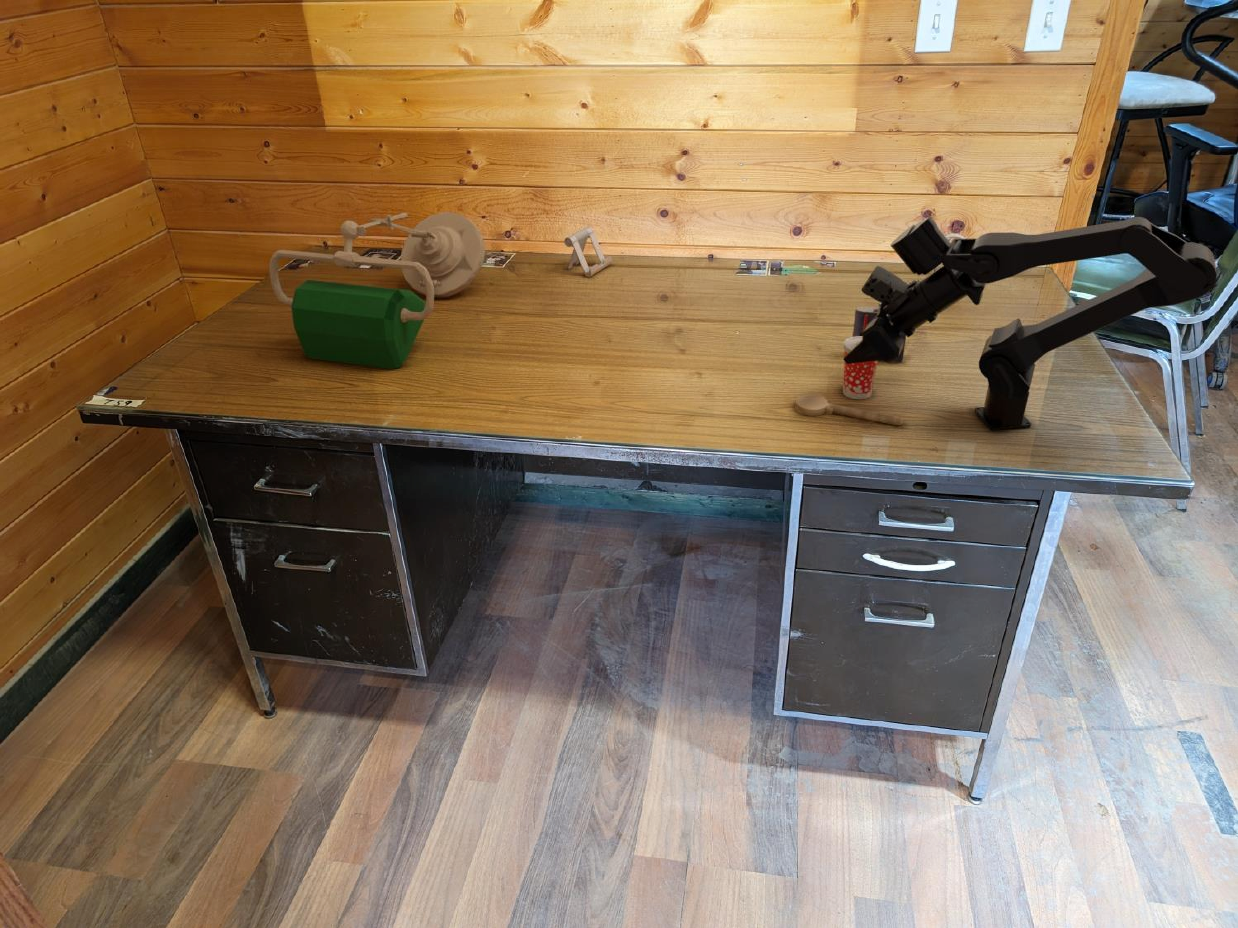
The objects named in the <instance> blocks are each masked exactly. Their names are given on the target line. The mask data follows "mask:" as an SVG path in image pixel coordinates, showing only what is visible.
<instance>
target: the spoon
mask: <svg viewBox="0 0 1238 928" xmlns="http://www.w3.org/2000/svg"><path fill="white" fill-rule="evenodd" d="M794 409H795V411H797V412H798V413H799V414H801V415H804V416H809V417H817V416H818V417H819V416H821V415H824V414H827V415H831V416H833V414H836V415H842V416H846V417H847V416H848V417H851V418H857V419H862V420H868V421H873V422H876V423H877V422H878V423H883V424H889V425H894V426H901V425H902V424H903V423H904V419H903V418H902V417H901V416H900V415H899V416H898V415H893V414H889V413H888V414H887V413H883V412H879V411H878V412H876V411H873V410H866V409H862V408H856V407H851V406H845V405H840V404H835V403H831V402H829V401H828V399H827V398H826V397H824V396H822V395H819V394H815V393H814V394H812V393H809V394H807V393H806V394H802V395H798V397H797V398H795V404H794Z"/></svg>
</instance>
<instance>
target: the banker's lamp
mask: <svg viewBox="0 0 1238 928" xmlns="http://www.w3.org/2000/svg"><path fill="white" fill-rule="evenodd" d="M405 219H408V213H407V212H403V213H399V214H397V215H393V216H392V215H391V214H387V216H386V218H369V222H368V223H364V224H361V225H358V223H356V222H355V221H353V220H345V221H344V222H343V223H342V224H341V226H340V234H341V236H342V237H343V238H345V239H344V246H343V250H337V251H336V252H335V253H334V254H332V253H331V254H330V253H319V252H311V251H299V250H288V249H279V250H276V251H275V252H274V253H273V254H272V256H271V258H270V260H269V277H270V284H271V287H272V290H273V293H274V294H275V297H277V299H278V300H279V301H280V302H281V303H283V304H284V305H286V306H288V307H291V309H290V310H291V315H292V324H293V329H294V331H295V334H296V337H297V339H298V341H299V344H300V347H301V349H302V351H303V354H304V357H305V358H308V359H313V360H320V361H328V362H334V363H343V364H349V365H357V366H363V367H364V366H366V367H372V368H381V369H387V370H393V369H398V368H400V367H401V366H403V364H404V363H405V362H406V360H407V358H408V356H409V354H410V352H411V349H412V347H413V345H414V343H415V341H416V338H417V336H418V335H419V332H420V330H421V328H422V325H423V323H424V321H425V320H426V319H427V318H429V317H430V316H431V314H432V312H433V310H434V309H435V308H434V305H435V299H442V298H443V299H444V298H449V297H451V296H454V295H457V294H459V293H461V292H462V291H463V290H465V289H466V288H468V286H469V285H471V284H472V283H473V282H474V280H475V279H476V278H477V276H478V275H479V273H480V271H481V270H482V267H483V264H484V261H485V254H486V244H485V240H484V237H483V235H482V232H481V230H480V229H479V227H478V226H477V224H476V223H474V222H473V221H472V220H471V218H469V217H467V216H464V215H463V214H461V213H457V212H451V211H446V212H445V211H444V212H438V213H436V214H432V215H430V216H427V217H426V218H425V219H423V220H422V221H420V222H419V223H417V224H416V225H415V226H414V228H410V227H406V226H402V225H400V224H397V223H394V221H398V220H405ZM378 226H379V227H389V231H390V232H392V231H394V229H396V230H400V231H402V232H403V231H404V232H406V233H409V234H408V235H407V237H406V239H405V241H404V243H403V246H402V248H401V254H400V259H390V258H382V257H373V256H362V255H360V254H359V253H358V252H356V251H353V246H354V240H356V239H357V238H359V237H363V238H365V237H366V234H367V230H366V229H370V228H373V227H378ZM282 258H283V259H292V260H304V261H315V262H325V263H326V262H327V263H334V264H335V266H338V267H346V268H348V267H349V268H358V267H359V266H360V265H361V266H371V267H380V268H381V267H382V268H393V269H401V272H402V275H403V276H404V279H405V281H406V282H407V283H408V284H409V286H410V287H411V288H412V289H413V290H414V291H416V292H417V293H419V294H420V295H423V296H425V298H426V301H425V300H423V299H422V298H421V297H419V295H417V294H416V293H414V291H411V290H410V289H403V288H402V289H401V288H393V287H391V288H390V287H381V286H371V285H364V284H363V285H362V284H352V283H343V282H333V281H332V282H331V281H322V280H314V279H313V280H312V279H307V280H306V281H304V282H303V283H301V284H300V285H299V286H298V287H296V288H295V289H294V292H293V298H292V297H288V296H287V295H286V294H285V293H284V291H283V289H282V287H281V283H280V280H279V272H278V270H279V263H280V260H281V259H282Z"/></svg>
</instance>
